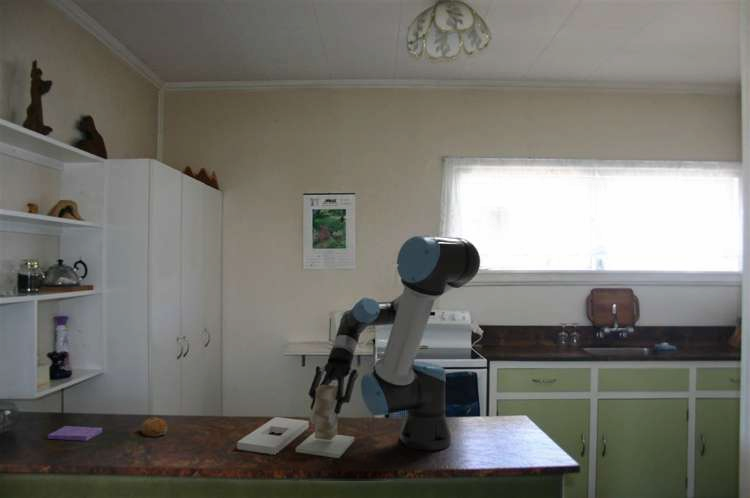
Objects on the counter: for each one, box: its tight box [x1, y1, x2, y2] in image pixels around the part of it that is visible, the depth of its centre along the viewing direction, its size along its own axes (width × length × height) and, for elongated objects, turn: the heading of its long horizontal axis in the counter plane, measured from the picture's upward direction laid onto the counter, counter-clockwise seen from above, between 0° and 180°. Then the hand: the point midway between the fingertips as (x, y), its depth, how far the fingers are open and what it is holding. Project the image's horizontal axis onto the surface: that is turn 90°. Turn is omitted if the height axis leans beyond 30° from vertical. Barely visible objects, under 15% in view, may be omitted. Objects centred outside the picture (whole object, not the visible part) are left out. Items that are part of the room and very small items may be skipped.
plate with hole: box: [236, 416, 310, 456], centre depth 135 cm, size 12×22×2 cm, turn 164°
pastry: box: [140, 416, 168, 438], centre depth 137 cm, size 9×7×4 cm
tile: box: [295, 431, 355, 459], centre depth 129 cm, size 13×13×1 cm
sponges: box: [47, 425, 103, 442], centre depth 134 cm, size 7×13×2 cm, turn 85°
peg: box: [314, 384, 339, 440], centre depth 130 cm, size 5×5×14 cm
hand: (321, 422), depth 126 cm, fingers closed on peg, 5 cm apart
